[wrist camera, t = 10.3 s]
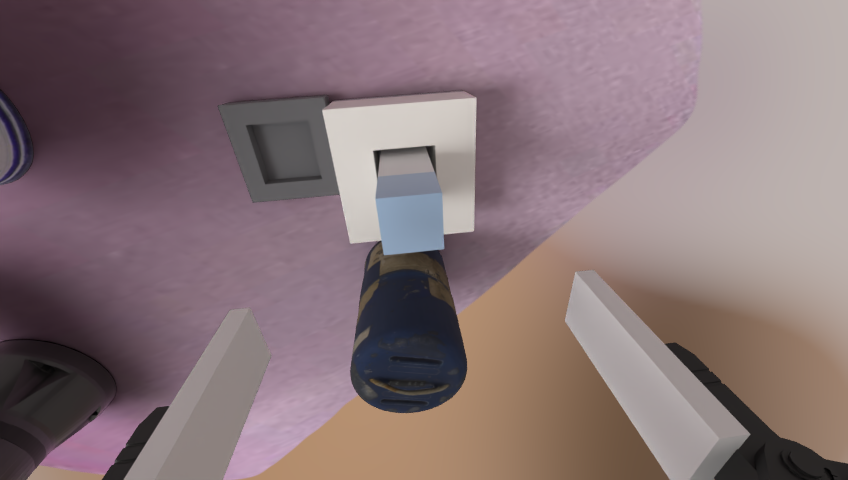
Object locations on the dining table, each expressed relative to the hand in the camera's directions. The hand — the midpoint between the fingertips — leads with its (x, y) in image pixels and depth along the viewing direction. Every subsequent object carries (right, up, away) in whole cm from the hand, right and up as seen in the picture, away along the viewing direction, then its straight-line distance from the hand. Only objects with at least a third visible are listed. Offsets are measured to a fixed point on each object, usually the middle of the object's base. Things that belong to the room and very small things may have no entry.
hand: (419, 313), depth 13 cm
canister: (-2, 0, +26) cm, 26 cm away
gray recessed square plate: (-13, +12, +18) cm, 25 cm away
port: (-2, +11, +20) cm, 23 cm away
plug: (-2, +11, +19) cm, 22 cm away
